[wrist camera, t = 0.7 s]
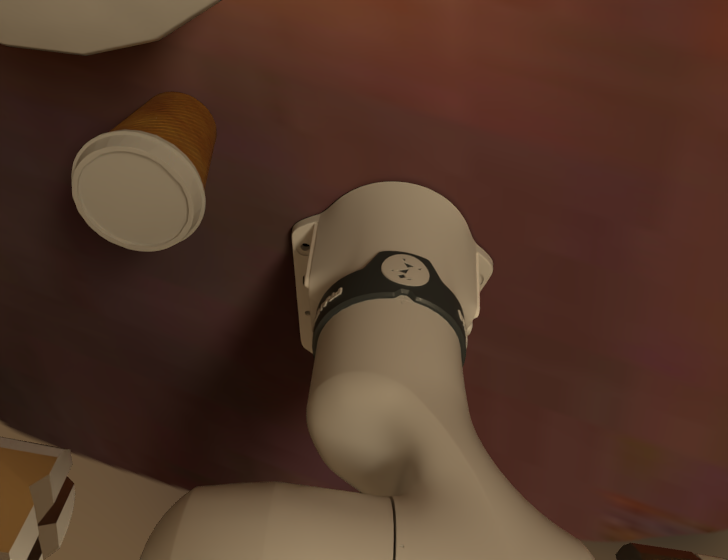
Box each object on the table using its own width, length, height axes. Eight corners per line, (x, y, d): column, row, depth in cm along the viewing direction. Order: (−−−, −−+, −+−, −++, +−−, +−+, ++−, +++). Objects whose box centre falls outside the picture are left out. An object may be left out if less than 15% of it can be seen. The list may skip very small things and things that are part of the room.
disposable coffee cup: (105, 139, 59) (46, 214, 50) (149, 48, 54) (92, 112, 45) (206, 196, 62) (168, 277, 52) (256, 114, 57) (224, 188, 47)
